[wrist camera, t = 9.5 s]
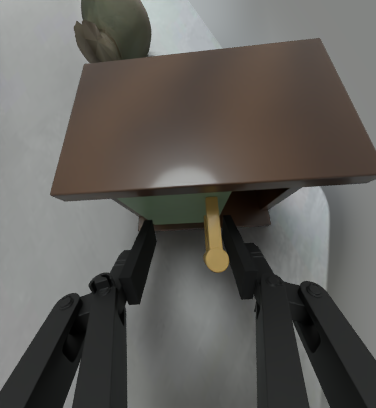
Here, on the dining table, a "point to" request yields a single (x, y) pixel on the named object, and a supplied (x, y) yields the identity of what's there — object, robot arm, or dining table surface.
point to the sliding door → (189, 218)
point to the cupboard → (214, 129)
